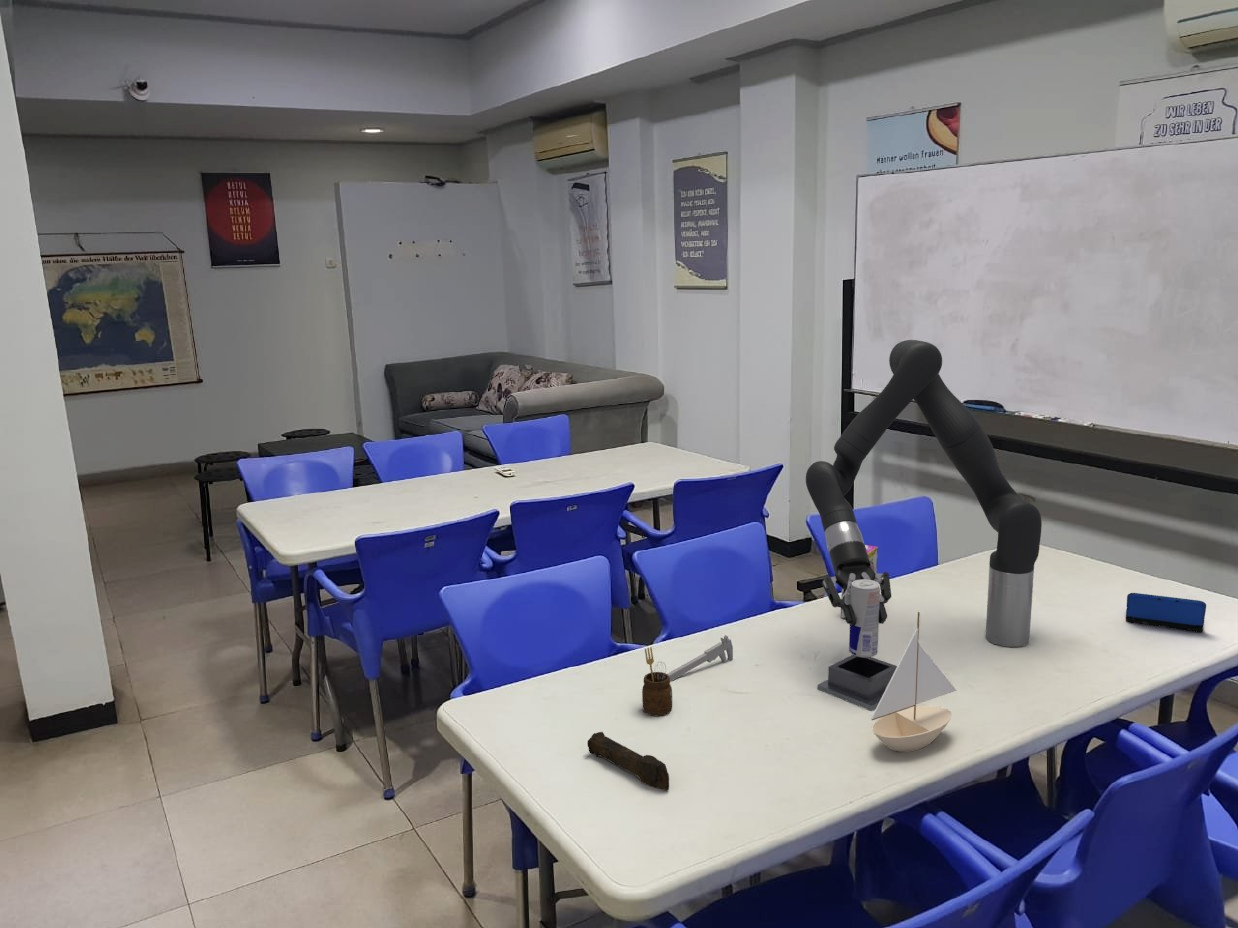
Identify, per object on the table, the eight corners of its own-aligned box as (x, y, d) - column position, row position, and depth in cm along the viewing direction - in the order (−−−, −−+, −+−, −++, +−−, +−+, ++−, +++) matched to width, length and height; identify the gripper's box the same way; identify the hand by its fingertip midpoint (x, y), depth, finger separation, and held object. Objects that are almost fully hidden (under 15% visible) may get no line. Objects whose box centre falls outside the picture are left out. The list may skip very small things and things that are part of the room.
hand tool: (586, 755, 168) (585, 732, 167) (603, 747, 170) (602, 724, 169) (656, 799, 154) (655, 774, 153) (674, 790, 156) (673, 765, 155)
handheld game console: (1201, 620, 219) (1205, 583, 217) (1203, 641, 208) (1207, 602, 206) (1126, 610, 227) (1129, 574, 225) (1124, 629, 215) (1127, 591, 213)
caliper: (729, 659, 206) (729, 633, 205) (733, 661, 205) (732, 634, 204) (656, 684, 195) (655, 657, 194) (659, 686, 194) (658, 658, 193)
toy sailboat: (894, 633, 155) (857, 616, 162) (889, 769, 160) (854, 746, 168) (981, 608, 164) (943, 593, 172) (974, 737, 169) (937, 717, 177)
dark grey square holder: (855, 669, 198) (855, 648, 197) (909, 689, 189) (909, 666, 188) (817, 689, 190) (817, 666, 189) (871, 710, 180) (872, 686, 179)
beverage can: (878, 649, 190) (881, 579, 186) (876, 660, 184) (879, 589, 181) (850, 646, 191) (852, 577, 188) (847, 657, 186) (849, 586, 183)
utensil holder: (652, 719, 180) (650, 662, 177) (636, 706, 185) (634, 650, 183) (678, 712, 182) (677, 655, 180) (662, 699, 188) (660, 644, 185)
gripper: (818, 542, 189) (839, 618, 180) (885, 537, 191) (908, 612, 182) (808, 558, 196) (828, 633, 187) (873, 553, 198) (895, 627, 189)
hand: (868, 623), depth 185 cm, fingers closed on beverage can, 5 cm apart
